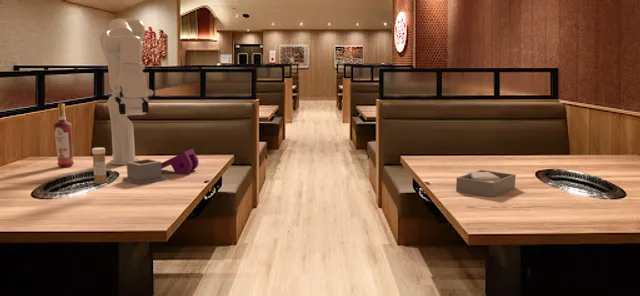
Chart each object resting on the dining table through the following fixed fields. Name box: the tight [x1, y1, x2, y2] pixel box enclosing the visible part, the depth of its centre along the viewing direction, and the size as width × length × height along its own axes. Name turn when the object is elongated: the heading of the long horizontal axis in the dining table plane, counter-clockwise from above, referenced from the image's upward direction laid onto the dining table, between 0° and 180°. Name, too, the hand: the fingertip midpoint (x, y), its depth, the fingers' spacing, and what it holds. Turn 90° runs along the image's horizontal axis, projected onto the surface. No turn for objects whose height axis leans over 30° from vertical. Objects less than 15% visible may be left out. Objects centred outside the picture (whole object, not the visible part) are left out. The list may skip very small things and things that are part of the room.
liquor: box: [53, 103, 75, 168], centre depth 229 cm, size 7×7×28 cm
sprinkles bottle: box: [91, 147, 107, 185], centre depth 197 cm, size 5×5×13 cm
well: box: [122, 158, 167, 186], centre depth 203 cm, size 12×12×7 cm
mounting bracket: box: [161, 148, 199, 175], centre depth 220 cm, size 9×8×18 cm
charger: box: [467, 171, 500, 182], centre depth 188 cm, size 5×9×15 cm
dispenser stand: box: [455, 169, 517, 198], centre depth 188 cm, size 14×20×5 cm
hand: (134, 113), depth 200 cm, fingers open, 9 cm apart
